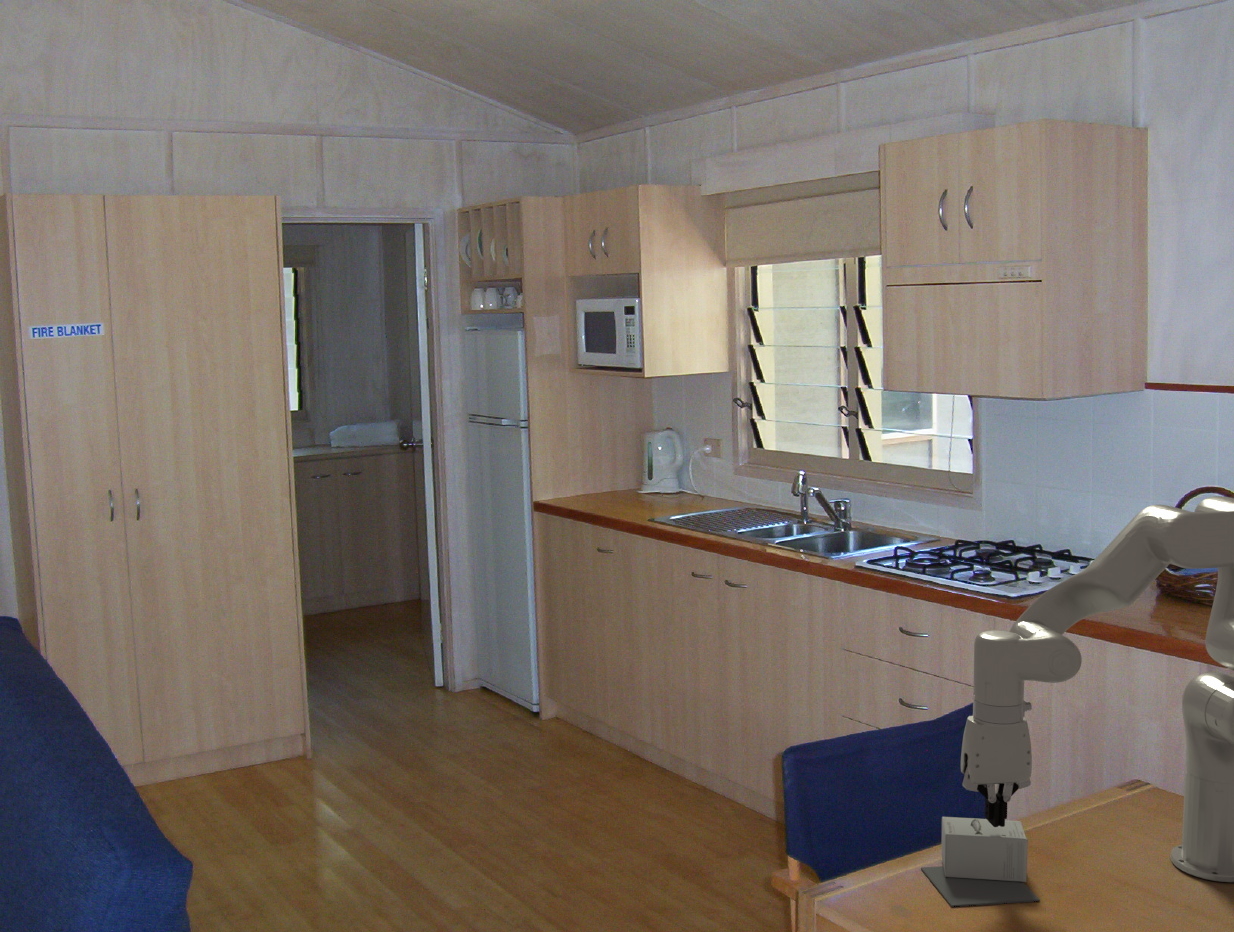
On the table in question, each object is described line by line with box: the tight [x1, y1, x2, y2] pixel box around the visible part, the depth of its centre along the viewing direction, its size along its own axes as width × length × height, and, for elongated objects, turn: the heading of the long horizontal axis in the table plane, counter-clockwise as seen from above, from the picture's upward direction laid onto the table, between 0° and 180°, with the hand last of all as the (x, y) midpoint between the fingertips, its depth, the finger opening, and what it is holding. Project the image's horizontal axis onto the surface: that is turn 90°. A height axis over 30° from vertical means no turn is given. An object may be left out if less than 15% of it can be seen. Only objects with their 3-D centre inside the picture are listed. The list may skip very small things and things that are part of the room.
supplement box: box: [941, 816, 1029, 883], centre depth 197 cm, size 7×7×13 cm
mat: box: [920, 865, 1041, 908], centre depth 194 cm, size 14×13×1 cm
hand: (995, 823), depth 194 cm, fingers closed
